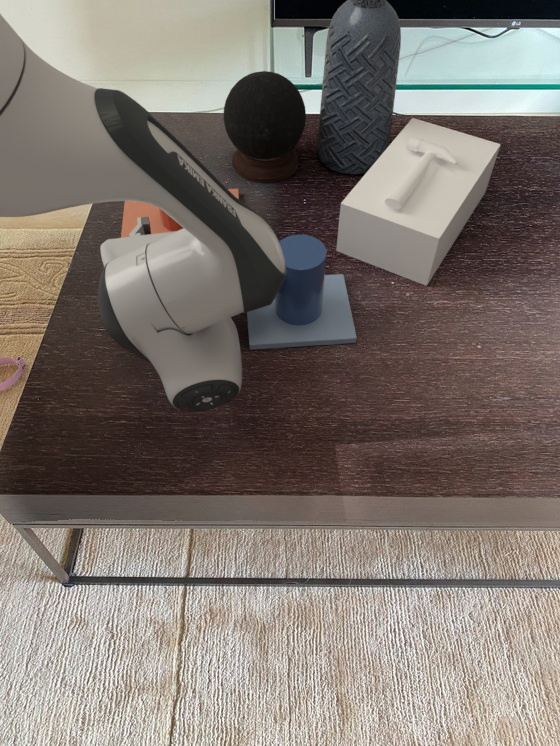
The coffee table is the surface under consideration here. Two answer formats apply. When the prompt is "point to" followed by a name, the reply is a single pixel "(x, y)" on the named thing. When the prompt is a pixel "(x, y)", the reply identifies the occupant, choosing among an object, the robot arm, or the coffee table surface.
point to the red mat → (146, 210)
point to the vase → (358, 85)
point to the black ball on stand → (264, 126)
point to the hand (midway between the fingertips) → (180, 216)
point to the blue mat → (323, 331)
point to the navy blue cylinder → (302, 280)
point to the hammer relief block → (416, 200)
